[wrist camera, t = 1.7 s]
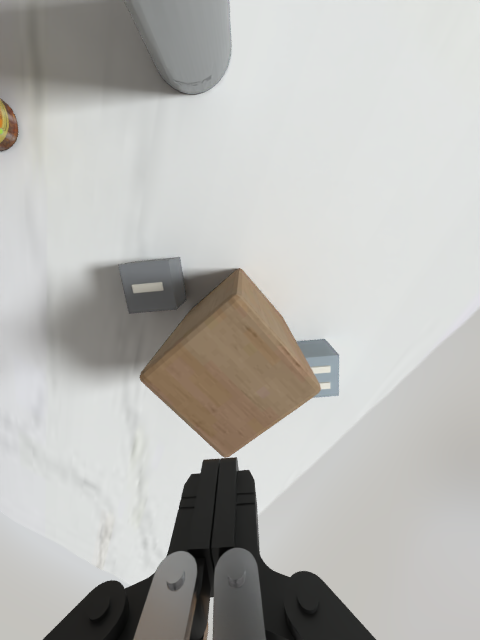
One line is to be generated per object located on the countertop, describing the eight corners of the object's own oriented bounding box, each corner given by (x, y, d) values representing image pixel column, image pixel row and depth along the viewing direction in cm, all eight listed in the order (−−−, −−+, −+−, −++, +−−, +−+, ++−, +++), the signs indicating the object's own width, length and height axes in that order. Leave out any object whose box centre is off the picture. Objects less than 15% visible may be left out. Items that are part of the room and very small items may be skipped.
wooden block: (233, 358, 40) (225, 462, 21) (188, 311, 38) (134, 379, 19) (284, 318, 38) (325, 391, 19) (239, 266, 36) (236, 290, 17)
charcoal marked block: (137, 261, 36) (117, 264, 30) (180, 257, 36) (167, 259, 30) (146, 303, 38) (128, 314, 32) (186, 299, 38) (176, 309, 32)
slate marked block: (285, 342, 40) (293, 359, 34) (324, 338, 39) (339, 355, 33) (287, 377, 41) (294, 400, 35) (325, 374, 41) (339, 396, 35)
